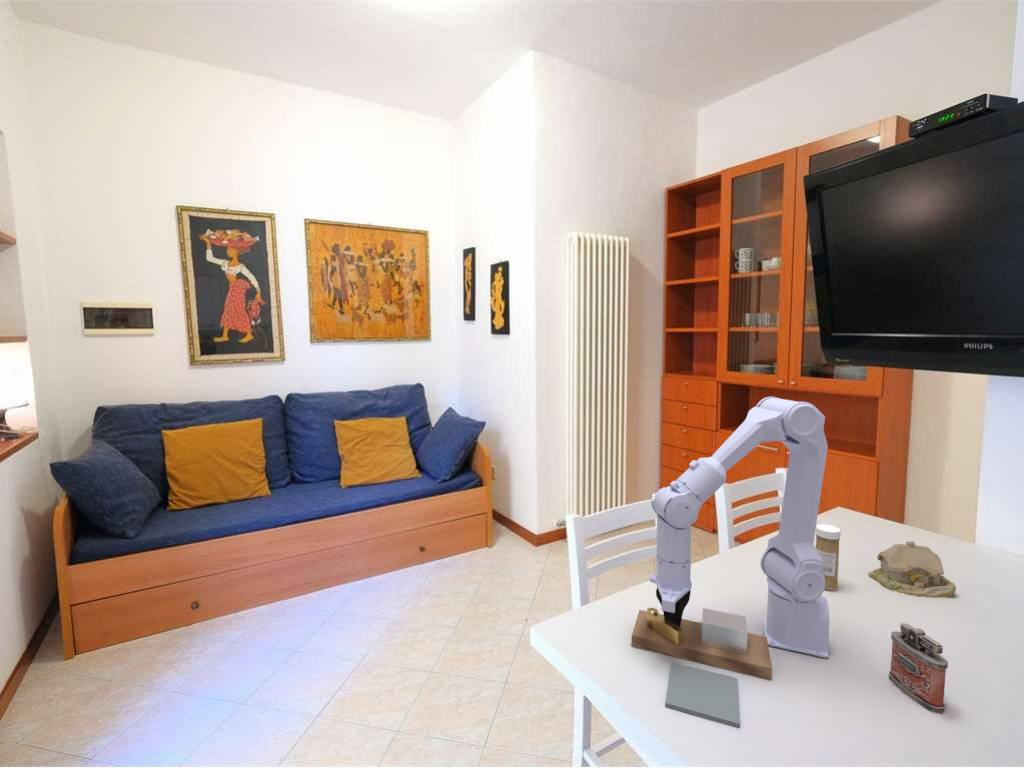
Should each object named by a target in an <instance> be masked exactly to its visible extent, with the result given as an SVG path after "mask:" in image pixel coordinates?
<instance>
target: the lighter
mask: <svg viewBox="0 0 1024 768" xmlns="http://www.w3.org/2000/svg"><path fill="white" fill-rule="evenodd" d="M899 627H900V629H899V630H900V631H898V630H897V631H895V630H894V631H891V634H890V636H891V637H890V639H891V641H892V642H891V658H890V659H891V660H890V661H891V662H890V670H889V672H888V679H889V680H890V682H892V684H894V686H895V687H896V688H897V689H899V690H900V691H901V692H902V693H904V695H906V697H909V698H910V699H911V700H912V701H914V702H915V703H917V705H920V706H921V707H923V708H924V709H925V710H927V711H929V712H932V713H935V714H944V713H945V711H946V710H945V709H946V704H945V703H944V700H945V685H946V673H947V671H946V670H947V669H948V668H949V661H948V660H947V659H946V658H945V657H944V656H943V655H941V654H943V651H944V646H943V645H942V644H941V643H940V642H938V641H937V640H936V639H934V638H932V637H931V636H929V635H927V634H926V632H925V630H924V629H921V628H915V627H913V626H912V625H910V624H909V623H905V622H902V623H901V622H900V626H899Z"/></svg>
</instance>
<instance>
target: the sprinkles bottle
mask: <svg viewBox="0 0 1024 768" xmlns="http://www.w3.org/2000/svg"><path fill="white" fill-rule="evenodd" d="M815 536H816V538H815V548H816V550H817V551H818V553H819V555H820V556H821V558H822V560H823V562H824V563H823V574H824V577H825V581H826V585H825V589H824V591H825V590H826V591H831V592H833V591H837V590H838V588H839V585H838V579H839V578H838V577H839V570H840V569H839V565H840V563H839V555H840V539H841V529H840V528H839V527H837V526H835V525H831V524H816V529H815Z"/></svg>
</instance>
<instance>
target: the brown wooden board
mask: <svg viewBox="0 0 1024 768" xmlns="http://www.w3.org/2000/svg"><path fill="white" fill-rule="evenodd" d="M661 615H662V616H664V614H661ZM680 627H681V628H683V629H684V643H683V644H680V645H678V646H677V645H676V644H674V643H673V642H671V641H670V640H668V639H667V638H666V637H664V636H663V635H661V634H660V633H658V632H657V631H655V630H654V629H652V628H649V627H648V626H647V610H641V609H639V610H638V614H637V617H636V620H635V623H634V627H633V630H632V632H631V633H632V634H631V647H633V648H637V649H641V650H645V651H650V652H654V653H657V654H662V655H666V656H669V657H675V658H678V659H683V660H685V661H691V662H696V663H699V664H703V665H707V666H709V667H716V668H718V669H723V670H726V671H732V672H736V673H740V674H744V675H747V676H748V675H749V676H752V677H756V678H761V679H764V680H769V681H772V673H773V672H772V671H773V670H772V668H773V667H772V663H771V662H772V660H771V655H770V649H769V645H768V642H767V637H765V635H761V634H755V633H751V632H748V633H747V655H743V654H739V653H734V652H730V651H725V650H721V649H717V648H712V647H708V646H704V645H701V644H702V622H700V621H699V622H698V621H694V620H689V619H683V618H682V620H681V625H680Z"/></svg>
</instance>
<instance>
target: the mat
mask: <svg viewBox="0 0 1024 768" xmlns="http://www.w3.org/2000/svg"><path fill="white" fill-rule="evenodd" d="M669 670H670V671H669V675H668V676H669V677H668V682H667V689H666V690H667V691H666V695H665V701H664V706H665V708H669V709H672V710H676V711H678V712H684V713H685V714H686V713H687V714H689V715H693V716H696V717H701V718H704V719H707V720H711V721H714V722H716V723H717V722H718V723H722V724H725V725H727V726H730V727H731V726H732V727H735V728H739V729H740V727H741V726H740V725H741V721H740V717H741V716H740V703H739V701H740V700H739V686H738V685H739V684H738V682H739V681H738V677H734V676H730V675H726V674H722V673H718V672H715V671H714V672H713V671H710V670H705V669H702V668H698V667H695V666H694V667H693V666H690V665H685V664H682V663H679V662H678V663H677V662H673V661H671V663H670V669H669Z"/></svg>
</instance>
